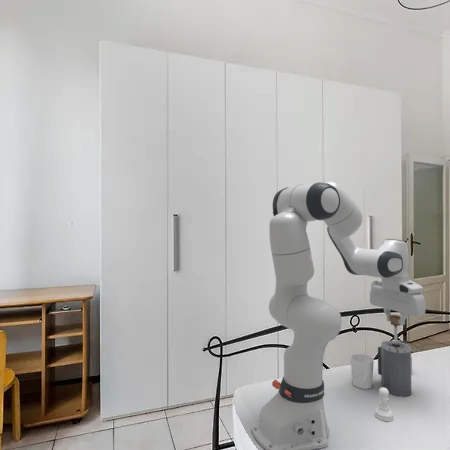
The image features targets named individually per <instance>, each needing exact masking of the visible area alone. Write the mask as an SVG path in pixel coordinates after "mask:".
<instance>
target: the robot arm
mask: <svg viewBox="0 0 450 450" xmlns="http://www.w3.org/2000/svg"><path fill="white" fill-rule="evenodd" d="M273 196H274V197H273V200H272V215H273V217H272V218H271V219H270V221H269V231H268V233H269V244H270V252H271V257H272V263H273V268H274V276H275V290H274V291H275V292H274V294H273V295H272V297H271V298H270V301H269V304H268V310H269V313H270V316H271V318H273V319H274V320H275V321H276V322H277V323H278V324H280V325H281V326H283V327H285V328H287V329H290V330H292V332H293V341H292V344H291V345H289V346H287V348H285V350H284V353H283V377H282V379H281V382H280V381H278V380H277V379H274V380H273V381H272V383H271V385H272V387H274V388H275V389H276V390H278V392H276V393H275V395H274V396H273V397H271V399H269V400H268V402H267V403H265V405H264V406H263V407H262V408H261V410H260V412H259V420H256V421H255V422H253V423H252V424H251V433H252V435H253V438H254V439H255V440H256V442H257V443H258V444H259V445H260V446H261V448H262V449H265V450H316V449H317V450H319V449H322V448H326V447H328V437H329V434H330V428H329V426H328V423H327V422H328V421H327V418H326V413H325V405H324V404H325V403H324V397H325V381H324V380H323V375H324V374H323V371H324V370H323V368H324V367H323V364H324V360H323V359H324V354H325V351H326V347H327V346H328V344H329V343H330V342H331V341H333V340H334V339H335V338H337V336H338V335H339V333H340V332H341V329H342V325H343V324H342V323H343V322H342V315H341V313H340V311H339V310H338V309H337V308H336V307H335V306H333V305H331V304H330V303H329V302H327V301H325V300H323V299H320V298H316V297H313V296H310V295H309V294H308V282H309V281H310V280H311V279H312V278H313V277H314V274H315V266H314V262H313V257H312V251H311V246H310V240H309V238H308V237H309V236H308V233H307V227H308V226H307V225H308V222H315V221H323V222H324V223H325V225H326V226H327V227H326V229H327V230H326V231H327V235H328V237H329V239H330V240H331V242H332V244H333V245H334V247H335V248H336V250H337V252H338V253H339V255H340V256H341V259H342V262H343V264H344V267H345V269H346V270H347V272H348V273H350V274H351V275H355V276H368V277H374V278H381V281H378V280H373V281H372V282H371V284H370V285H371V286H370V287H371V288H370V292H369V303H370V304H371V305H372V306H376V307H379V308H383V312H384V314H385V316H386V321H388V322H390V323H391V315H392V314H391V311H394V312H398V313H399V316H401V318H400V319H398V324H400V326H403V325H405V324H406V320H407V318H408V316H413V317H423V316H424V315H425V314H426V301H425V296H424V294H422V293H423V292H424V287H423V286H422V285H420V284H418V283H416V282H415V281H413V280H411V279H410V274H409V266H410V258H409V257H410V255H409V249H408V245H407V242H406V241H404V240H402V239H395V238H386V239H384V240H383V241H382V245H380V246H379V247H377V248H376V249H375V248H374V249H373V248H362V247H359V246H356V245H355V243H354V241H353V240H352V239H351V236H352V235H354V234H355V233H357V231H358V230H359V229H360V227H361V225H362V222H363V217H364V216H363V213H362V210H361V209H360V207H359V206H358V204H357V203H356V202H355V200H354V199H353V198H352V196H351V195H350V194H349V193H348V192H347V191H346V190H345V189H344V188H343V187H342V186H341V185H339V184H338V183H336V182H335V181H331V180H329V181H324V182H321V181H320V182H315V183H301V184H296V185H293V186H287V187H284V188H282V189H279V190H278V191H277V192H276V193H275V195H273Z"/></svg>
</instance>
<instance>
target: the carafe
mask: <svg viewBox="0 0 450 450" xmlns="http://www.w3.org/2000/svg"><path fill="white" fill-rule="evenodd" d="M403 342H404V341H403ZM403 342H398V341H397V347H395V346H394V341H393V340H385V341H384V340H383V341H381V343H380V346H378V347H377V374H378V375H379V376H380V377H381V387H380V388H382V387H384V388H386V389H387V390H388V391H389V395H391V394H392V395H391V396H394V395H395V396H394V397H399V396H403V397H402V398H405V397H406V396H407V397H410V396H411V395H412V375H411V357H412V347H411V345H409V344H407V343H406V342H405V343H406V344H405V343H403ZM407 397H406V398H407Z"/></svg>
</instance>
